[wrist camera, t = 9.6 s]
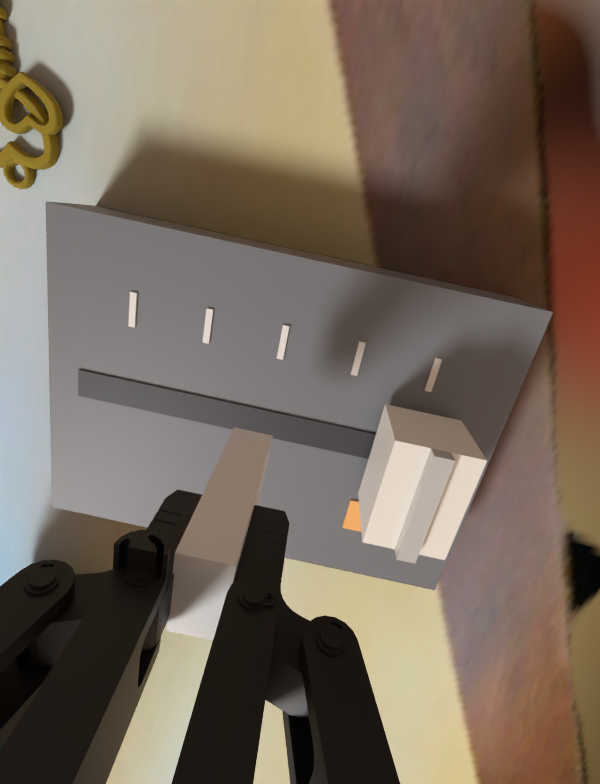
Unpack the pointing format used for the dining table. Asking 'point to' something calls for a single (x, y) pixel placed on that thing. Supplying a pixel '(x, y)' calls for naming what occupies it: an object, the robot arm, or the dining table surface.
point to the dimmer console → (258, 372)
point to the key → (3, 94)
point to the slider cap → (418, 483)
